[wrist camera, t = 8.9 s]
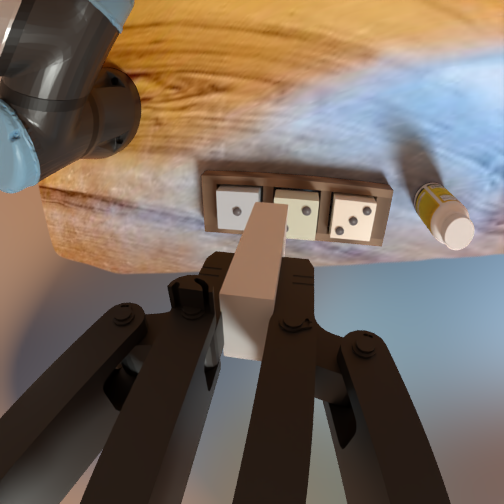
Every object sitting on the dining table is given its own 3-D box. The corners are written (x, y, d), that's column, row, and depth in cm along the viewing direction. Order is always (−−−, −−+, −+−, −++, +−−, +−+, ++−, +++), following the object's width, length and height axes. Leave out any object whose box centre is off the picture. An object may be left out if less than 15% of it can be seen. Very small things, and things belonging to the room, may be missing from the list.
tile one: (223, 219, 47) (217, 229, 44) (221, 183, 44) (215, 191, 41) (261, 221, 46) (257, 232, 43) (261, 185, 43) (258, 193, 40)
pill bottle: (422, 225, 43) (447, 264, 33) (406, 194, 41) (431, 228, 31) (452, 205, 40) (484, 240, 30) (438, 173, 38) (470, 202, 29)
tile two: (274, 226, 44) (272, 237, 42) (276, 189, 41) (273, 198, 39) (314, 229, 44) (314, 241, 41) (318, 192, 41) (319, 201, 38)
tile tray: (209, 224, 49) (205, 231, 47) (206, 170, 44) (201, 175, 42) (378, 238, 45) (381, 246, 43) (389, 184, 40) (393, 190, 38)
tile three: (328, 227, 44) (330, 238, 42) (333, 190, 41) (335, 199, 39) (365, 230, 44) (369, 242, 41) (372, 195, 41) (377, 204, 38)
